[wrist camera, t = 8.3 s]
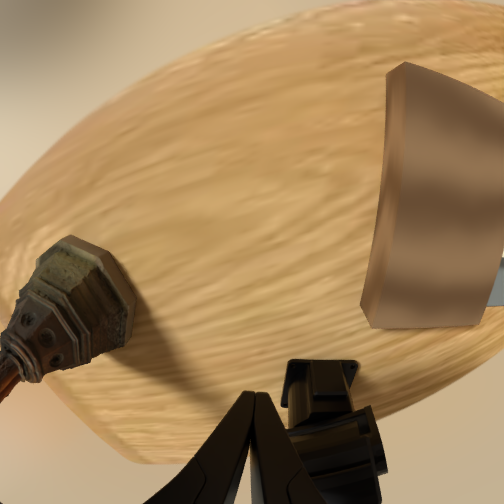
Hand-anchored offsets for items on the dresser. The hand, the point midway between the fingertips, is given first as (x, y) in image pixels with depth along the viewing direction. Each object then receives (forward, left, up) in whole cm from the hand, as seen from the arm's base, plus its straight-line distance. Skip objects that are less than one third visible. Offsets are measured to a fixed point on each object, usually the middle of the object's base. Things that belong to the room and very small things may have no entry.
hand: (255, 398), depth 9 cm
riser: (+6, -13, -13) cm, 20 cm away
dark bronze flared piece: (-3, +15, -13) cm, 20 cm away
